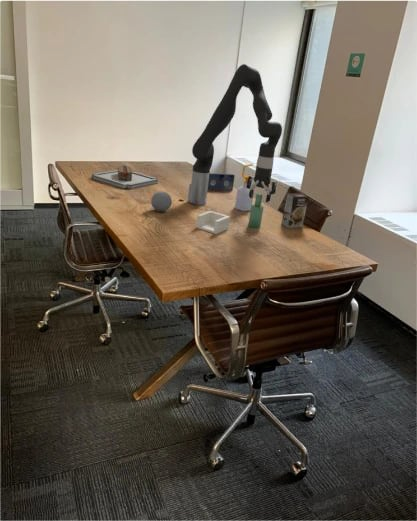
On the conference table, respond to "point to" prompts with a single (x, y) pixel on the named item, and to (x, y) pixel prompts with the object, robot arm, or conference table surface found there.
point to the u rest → (212, 222)
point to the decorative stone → (161, 201)
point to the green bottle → (256, 212)
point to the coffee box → (294, 210)
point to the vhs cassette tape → (221, 182)
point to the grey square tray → (124, 178)
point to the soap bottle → (243, 195)
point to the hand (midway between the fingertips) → (259, 199)
